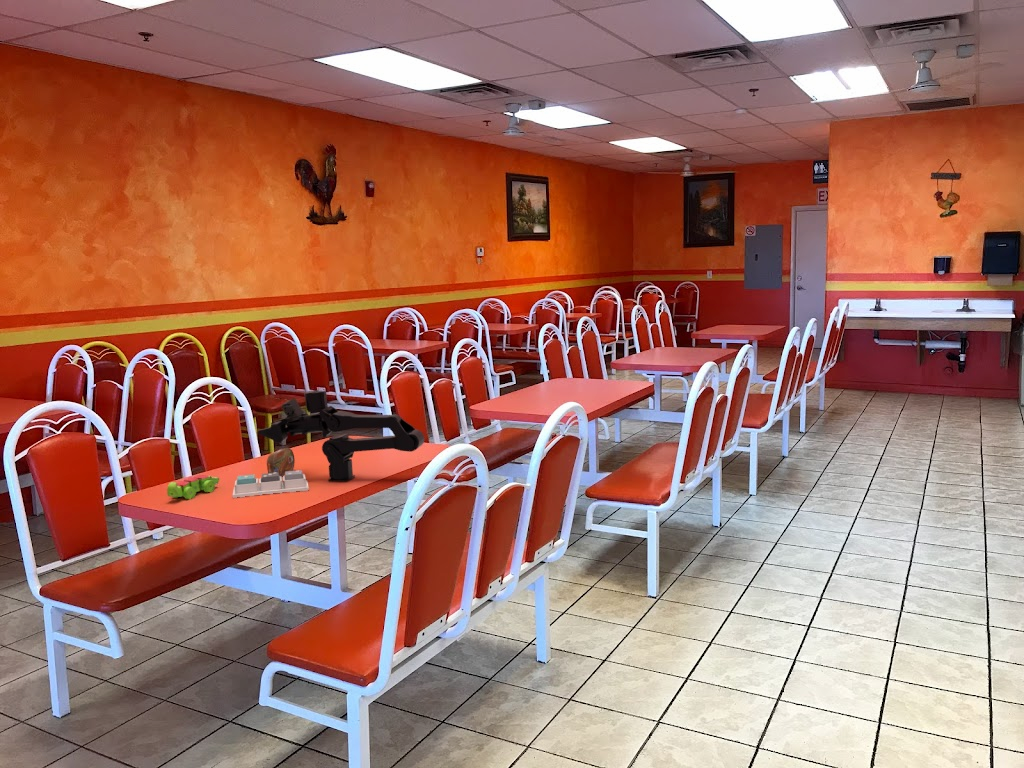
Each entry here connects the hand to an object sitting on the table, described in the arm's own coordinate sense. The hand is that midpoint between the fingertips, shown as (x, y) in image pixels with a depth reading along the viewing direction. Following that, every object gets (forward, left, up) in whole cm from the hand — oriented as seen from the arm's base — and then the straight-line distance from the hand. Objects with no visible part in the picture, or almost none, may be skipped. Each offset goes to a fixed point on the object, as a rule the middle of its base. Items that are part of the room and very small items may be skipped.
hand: (264, 428), depth 270 cm
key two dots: (-15, +11, -14) cm, 24 cm away
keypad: (-9, +15, -17) cm, 24 cm away
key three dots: (-9, +15, -14) cm, 22 cm away
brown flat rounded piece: (-2, -4, -17) cm, 18 cm away
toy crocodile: (+13, +22, -17) cm, 30 cm away
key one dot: (-3, +18, -14) cm, 23 cm away
